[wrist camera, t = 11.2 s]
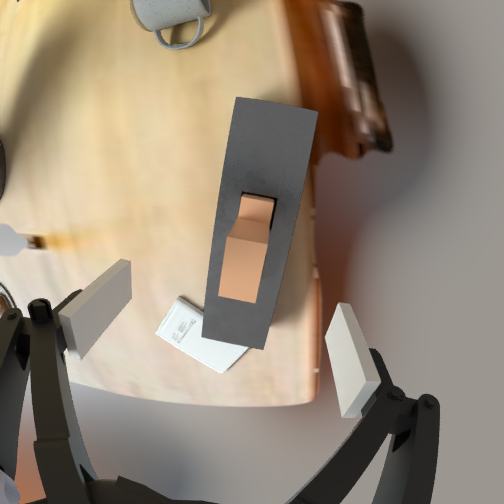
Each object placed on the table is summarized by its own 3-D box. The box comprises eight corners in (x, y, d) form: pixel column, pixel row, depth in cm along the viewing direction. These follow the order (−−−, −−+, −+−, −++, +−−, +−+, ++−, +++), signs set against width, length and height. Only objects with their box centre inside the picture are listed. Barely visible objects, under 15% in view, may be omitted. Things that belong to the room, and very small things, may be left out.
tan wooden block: (235, 261, 34) (215, 315, 22) (247, 188, 30) (231, 209, 19) (259, 266, 34) (250, 323, 22) (274, 193, 30) (273, 217, 19)
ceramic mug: (149, 5, 23) (124, -18, 16) (206, -15, 22) (190, -44, 14) (157, 61, 26) (129, 44, 19) (219, 41, 25) (204, 16, 18)
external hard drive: (223, 368, 42) (157, 328, 40) (251, 339, 39) (179, 294, 38) (221, 374, 41) (154, 334, 39) (250, 346, 38) (176, 299, 36)
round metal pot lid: (-12, 278, 43) (-23, 285, 39) (9, 283, 42) (-3, 292, 38) (3, 318, 47) (-7, 327, 43) (25, 328, 46) (15, 337, 42)
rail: (209, 315, 38) (201, 337, 33) (242, 105, 28) (236, 96, 23) (265, 327, 38) (263, 349, 33) (311, 118, 28) (318, 111, 23)
